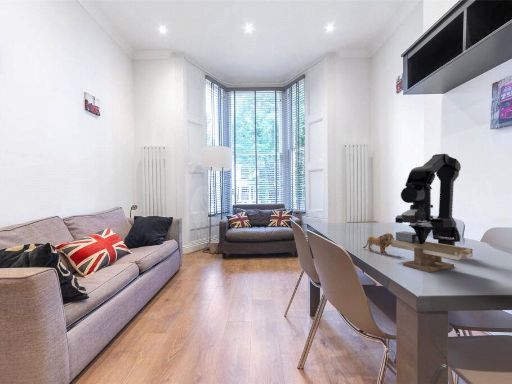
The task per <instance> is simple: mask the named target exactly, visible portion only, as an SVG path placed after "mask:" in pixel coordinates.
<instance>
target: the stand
mask: <svg viewBox="0 0 512 384" xmlns="http://www.w3.org/2000/svg"><path fill="white" fill-rule="evenodd" d="M413 252H414V253H413V254H414V255H413V260H410V261H409V260H408V261H404V262H402V266H404V267H408V268H412V269H416V270H420V271H423V272H427V273H431V272H436V271H437V272H438V271H440V270H441V271H442V270H445V269H452V268H455V264H454V263H450V262H446V261H442V259H443V257H441V256H436V255H431V254H426V253H423V249H421V248H414V251H413Z"/></svg>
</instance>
